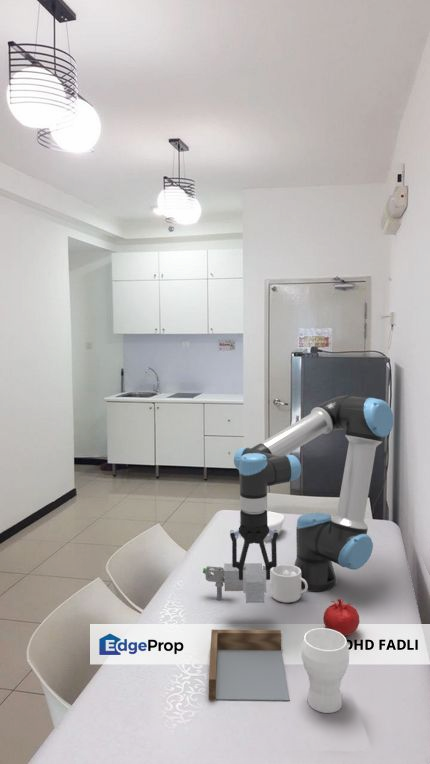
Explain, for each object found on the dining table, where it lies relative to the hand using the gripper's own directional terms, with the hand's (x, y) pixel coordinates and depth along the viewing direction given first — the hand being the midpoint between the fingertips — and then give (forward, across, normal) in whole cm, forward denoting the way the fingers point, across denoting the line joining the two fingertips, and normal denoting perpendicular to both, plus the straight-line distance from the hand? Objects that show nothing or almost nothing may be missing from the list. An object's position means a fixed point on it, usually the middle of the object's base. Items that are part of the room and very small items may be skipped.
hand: (254, 590), depth 154 cm
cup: (+13, -14, +29) cm, 35 cm away
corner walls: (+12, +10, +9) cm, 19 cm away
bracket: (+2, 0, -2) cm, 3 cm away
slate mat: (+12, +10, +9) cm, 19 cm away
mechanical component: (+13, +10, -20) cm, 26 cm away
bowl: (+13, -6, -73) cm, 74 cm away
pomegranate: (+13, -24, -2) cm, 28 cm away
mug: (+13, -12, -21) cm, 28 cm away
